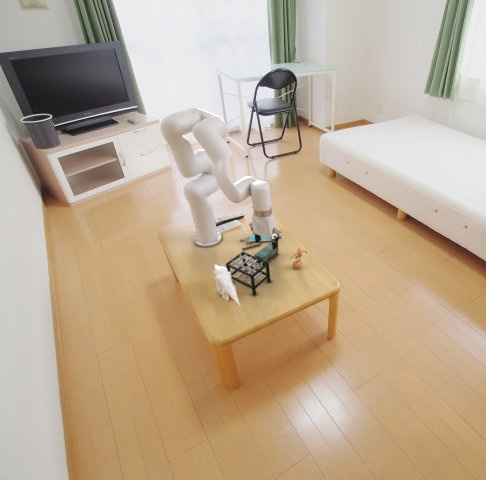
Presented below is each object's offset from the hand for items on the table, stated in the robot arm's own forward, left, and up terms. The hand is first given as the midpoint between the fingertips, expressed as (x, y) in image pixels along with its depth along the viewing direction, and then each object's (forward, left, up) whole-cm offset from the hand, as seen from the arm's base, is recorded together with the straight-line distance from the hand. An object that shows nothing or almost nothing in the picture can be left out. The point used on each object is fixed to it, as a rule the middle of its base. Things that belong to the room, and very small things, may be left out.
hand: (266, 244), depth 148 cm
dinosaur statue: (+2, -27, -8) cm, 28 cm away
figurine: (+15, +2, -8) cm, 18 cm away
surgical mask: (-13, +10, -8) cm, 18 cm away
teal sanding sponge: (-1, 0, -8) cm, 8 cm away
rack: (+3, -16, -8) cm, 18 cm away
